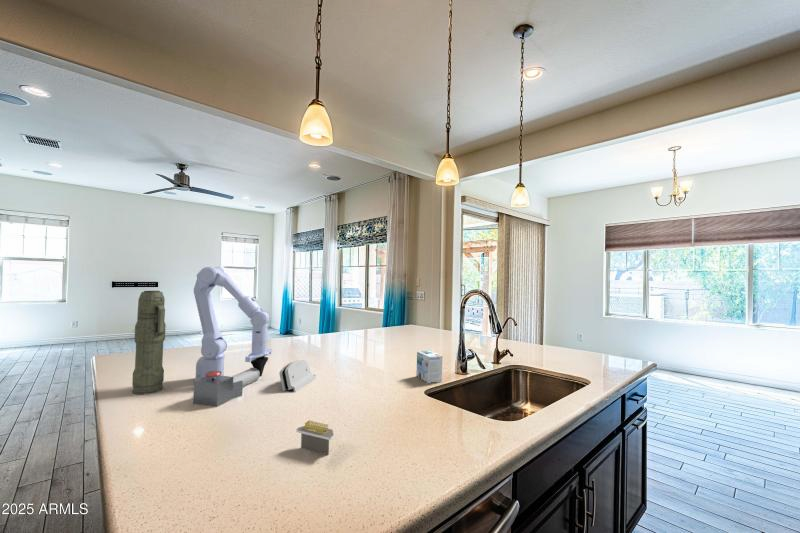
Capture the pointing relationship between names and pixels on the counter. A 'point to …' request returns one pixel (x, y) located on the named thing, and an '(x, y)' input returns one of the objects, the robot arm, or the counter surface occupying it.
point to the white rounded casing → (296, 375)
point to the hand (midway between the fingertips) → (258, 376)
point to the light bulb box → (429, 366)
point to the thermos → (149, 343)
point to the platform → (315, 437)
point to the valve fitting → (216, 389)
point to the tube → (247, 376)
